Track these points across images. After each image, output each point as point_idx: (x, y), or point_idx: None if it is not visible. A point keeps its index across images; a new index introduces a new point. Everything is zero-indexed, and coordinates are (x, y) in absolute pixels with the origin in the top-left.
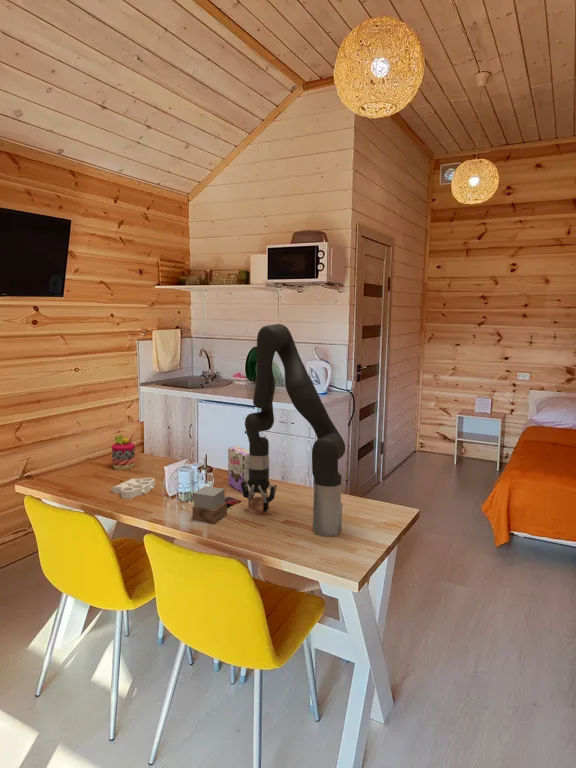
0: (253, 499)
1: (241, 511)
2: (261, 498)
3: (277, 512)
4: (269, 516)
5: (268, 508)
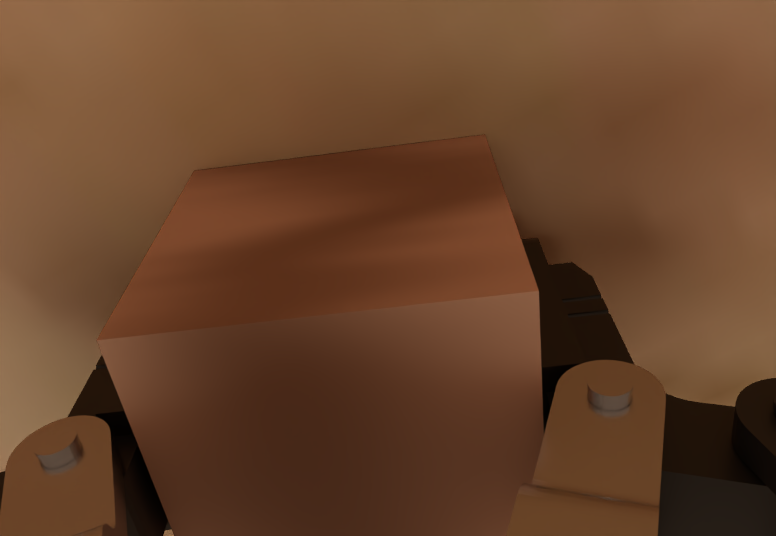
0: (223, 525)
1: (70, 385)
2: (368, 384)
3: (723, 77)
4: (639, 321)
5: (591, 289)
